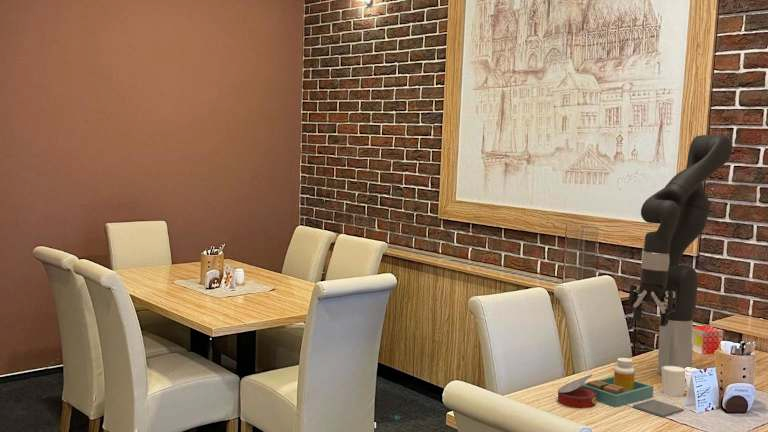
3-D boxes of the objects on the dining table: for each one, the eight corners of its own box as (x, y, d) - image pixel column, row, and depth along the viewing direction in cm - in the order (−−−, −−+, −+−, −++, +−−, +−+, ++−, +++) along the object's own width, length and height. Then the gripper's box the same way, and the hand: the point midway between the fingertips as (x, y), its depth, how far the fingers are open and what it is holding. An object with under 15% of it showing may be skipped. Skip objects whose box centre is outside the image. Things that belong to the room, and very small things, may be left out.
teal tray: (616, 385, 214) (616, 375, 214) (652, 396, 204) (653, 386, 204) (579, 394, 205) (579, 384, 205) (615, 407, 195) (616, 396, 195)
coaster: (653, 401, 200) (653, 399, 200) (683, 411, 193) (683, 408, 193) (632, 407, 195) (632, 405, 195) (662, 417, 188) (663, 415, 188)
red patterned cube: (687, 348, 259) (688, 326, 259) (706, 347, 261) (707, 325, 261) (702, 354, 252) (703, 331, 251) (722, 353, 254) (723, 330, 253)
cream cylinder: (687, 391, 210) (688, 367, 209) (685, 398, 204) (687, 373, 203) (661, 388, 213) (662, 363, 212) (659, 394, 207) (660, 369, 206)
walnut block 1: (596, 394, 206) (596, 379, 206) (608, 397, 203) (608, 383, 203) (586, 396, 204) (587, 382, 204) (598, 400, 201) (599, 385, 200)
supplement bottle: (634, 397, 203) (636, 362, 203) (614, 396, 204) (615, 361, 204) (632, 391, 209) (633, 357, 208) (612, 390, 210) (613, 356, 209)
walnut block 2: (609, 398, 203) (610, 383, 202) (623, 401, 200) (624, 387, 200) (602, 401, 200) (603, 387, 200) (617, 405, 197) (617, 390, 197)
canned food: (579, 426, 194) (569, 396, 190) (554, 410, 203) (544, 381, 199) (610, 402, 198) (601, 372, 194) (584, 387, 206) (575, 359, 203)
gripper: (684, 271, 214) (679, 327, 214) (641, 265, 225) (637, 318, 226) (669, 271, 209) (664, 328, 210) (626, 265, 221) (621, 319, 221)
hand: (650, 323), depth 218 cm, fingers open, 8 cm apart
